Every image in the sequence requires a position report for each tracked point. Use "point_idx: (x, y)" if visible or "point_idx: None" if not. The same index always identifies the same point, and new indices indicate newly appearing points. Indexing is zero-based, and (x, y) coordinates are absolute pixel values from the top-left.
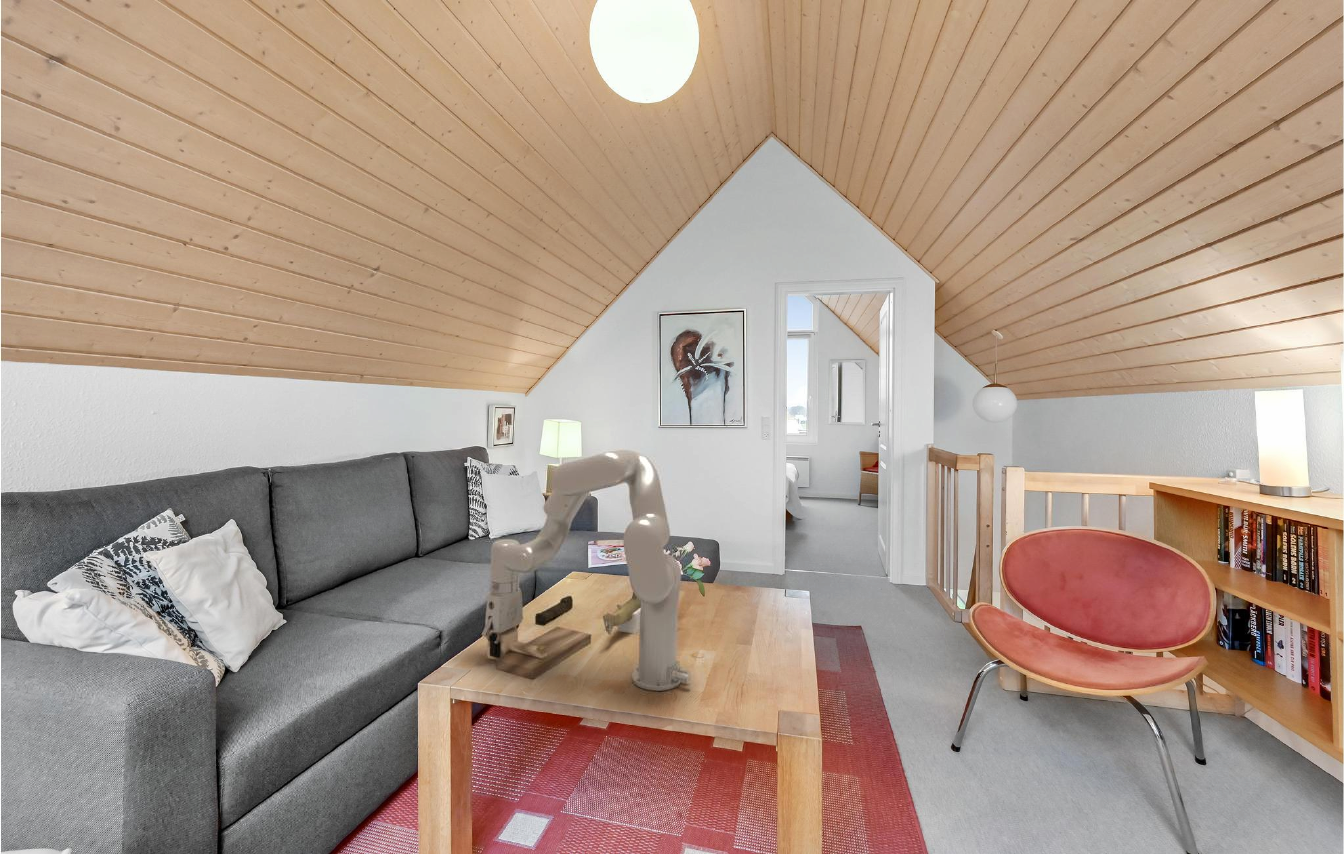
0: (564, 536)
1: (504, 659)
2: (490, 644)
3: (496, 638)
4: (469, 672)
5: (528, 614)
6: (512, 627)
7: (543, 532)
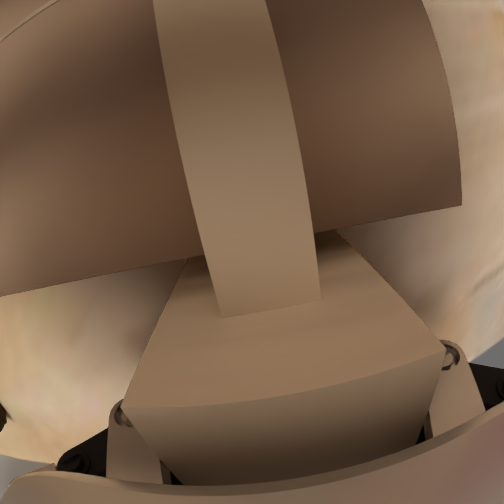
0: None
1: (435, 145)
2: None
3: (470, 376)
4: (490, 269)
5: (23, 452)
6: (250, 489)
7: None
